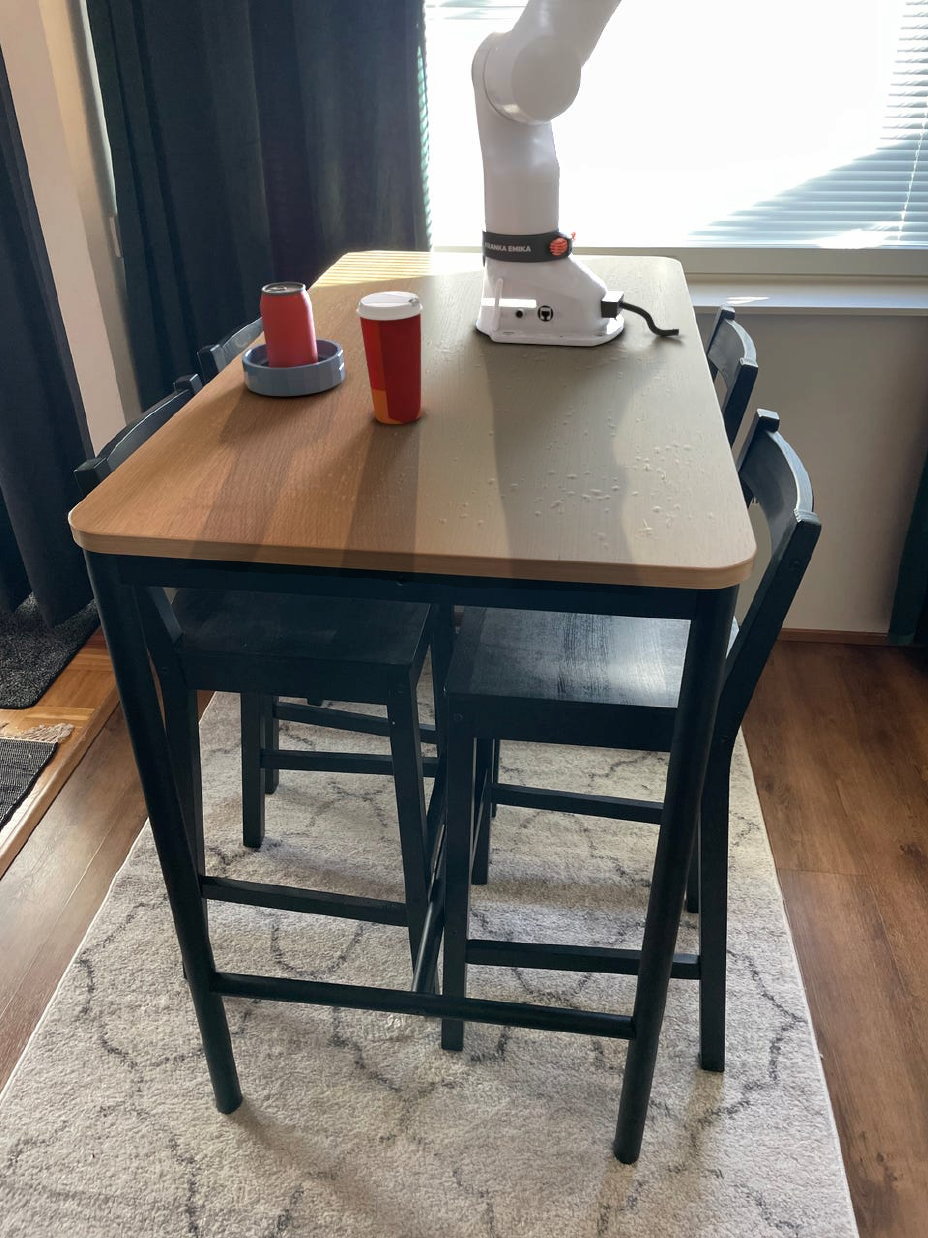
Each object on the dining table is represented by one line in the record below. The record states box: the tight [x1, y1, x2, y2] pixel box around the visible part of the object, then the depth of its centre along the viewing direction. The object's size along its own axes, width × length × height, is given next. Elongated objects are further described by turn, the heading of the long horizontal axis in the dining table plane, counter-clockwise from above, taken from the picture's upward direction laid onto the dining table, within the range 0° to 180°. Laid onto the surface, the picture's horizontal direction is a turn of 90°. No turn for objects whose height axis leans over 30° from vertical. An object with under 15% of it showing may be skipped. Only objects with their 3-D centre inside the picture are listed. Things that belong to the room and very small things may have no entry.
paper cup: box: [355, 290, 424, 425], centre depth 109 cm, size 8×8×14 cm
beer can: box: [259, 281, 318, 368], centre depth 121 cm, size 7×7×12 cm
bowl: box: [241, 337, 346, 397], centre depth 124 cm, size 13×13×4 cm
